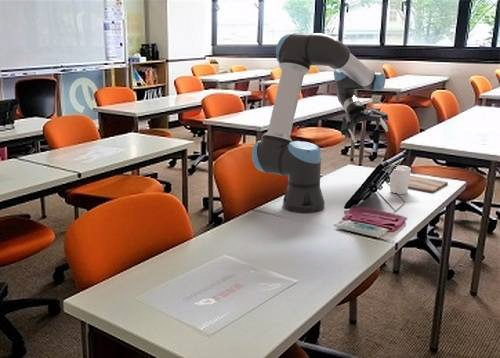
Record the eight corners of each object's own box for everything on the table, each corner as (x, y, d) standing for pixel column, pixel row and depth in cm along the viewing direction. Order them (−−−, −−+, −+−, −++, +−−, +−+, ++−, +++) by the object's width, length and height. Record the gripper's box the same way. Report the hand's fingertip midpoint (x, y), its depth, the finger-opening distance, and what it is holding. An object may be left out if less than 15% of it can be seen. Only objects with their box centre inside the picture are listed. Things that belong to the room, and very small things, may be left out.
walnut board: (432, 193, 203) (432, 190, 202) (394, 185, 213) (395, 183, 213) (447, 184, 214) (447, 182, 214) (411, 177, 224) (411, 175, 224)
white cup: (408, 195, 200) (410, 170, 197) (387, 193, 202) (389, 169, 200) (409, 190, 207) (411, 166, 204) (389, 188, 209) (390, 164, 207)
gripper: (383, 106, 225) (401, 131, 208) (329, 125, 227) (342, 151, 210) (380, 92, 220) (399, 116, 203) (325, 111, 222) (339, 137, 205)
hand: (370, 134), depth 206 cm, fingers open, 13 cm apart
